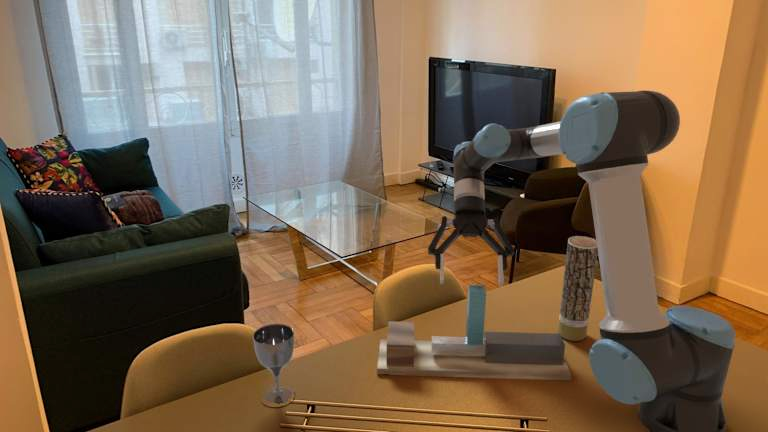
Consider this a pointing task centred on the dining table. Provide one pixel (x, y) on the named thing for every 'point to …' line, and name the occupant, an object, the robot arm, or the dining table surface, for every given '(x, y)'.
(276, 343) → the wine glass
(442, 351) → the sliding bolt
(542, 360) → the steel sleeve
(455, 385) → the dining table surface
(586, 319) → the bark log
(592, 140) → the robot arm
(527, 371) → the birch board
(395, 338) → the walnut socket
